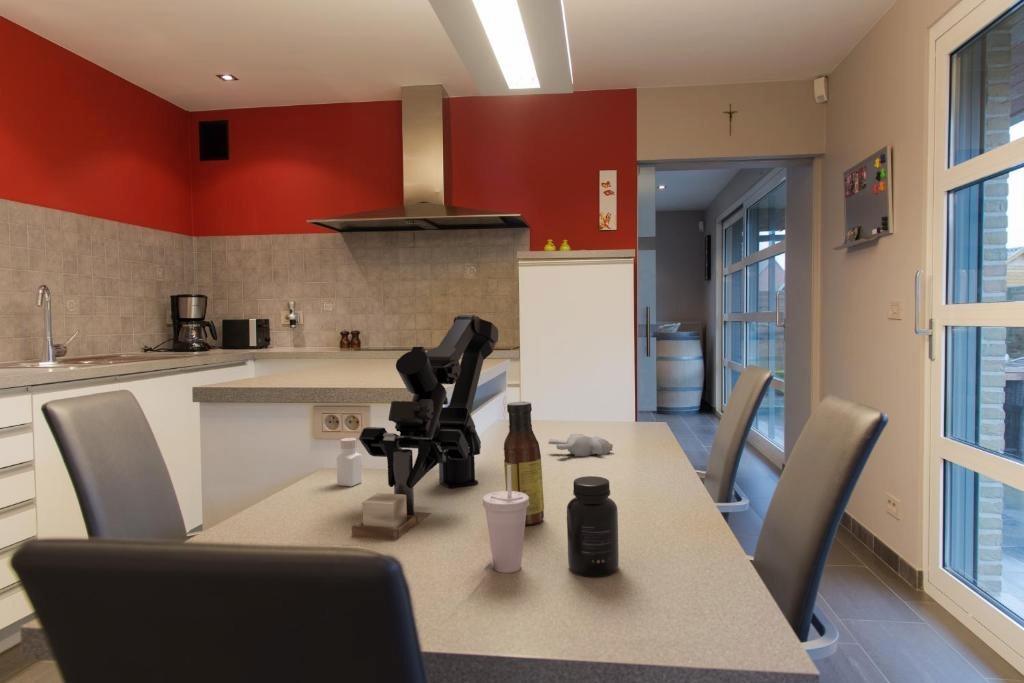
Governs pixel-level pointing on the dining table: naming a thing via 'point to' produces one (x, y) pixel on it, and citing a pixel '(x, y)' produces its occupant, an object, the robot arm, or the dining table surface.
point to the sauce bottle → (524, 460)
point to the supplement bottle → (592, 528)
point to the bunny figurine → (583, 445)
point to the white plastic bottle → (349, 464)
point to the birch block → (385, 510)
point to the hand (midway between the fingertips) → (399, 486)
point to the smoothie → (506, 526)
